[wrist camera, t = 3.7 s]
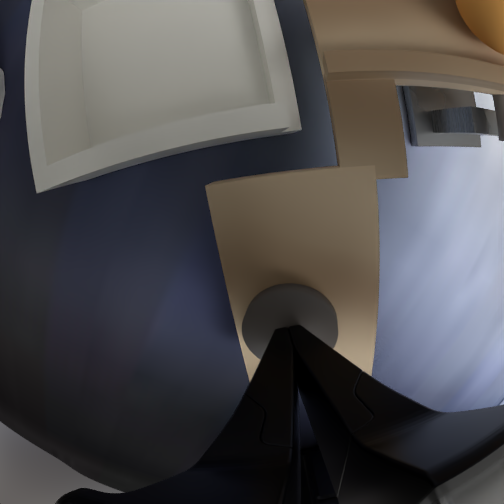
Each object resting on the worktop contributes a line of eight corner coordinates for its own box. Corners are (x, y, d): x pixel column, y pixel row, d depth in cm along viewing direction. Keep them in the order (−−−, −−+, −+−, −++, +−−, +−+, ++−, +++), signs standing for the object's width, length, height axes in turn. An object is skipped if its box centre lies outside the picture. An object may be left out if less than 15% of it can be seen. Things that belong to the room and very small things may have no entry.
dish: (292, 133, 10) (315, 124, 7) (86, 180, 10) (36, 193, 7) (252, -42, 7) (256, -88, 4) (73, 9, 7) (35, -16, 4)
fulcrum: (474, 146, 10) (519, 152, 7) (412, 146, 10) (458, 148, 7) (434, -9, 7) (467, -29, 4) (366, -27, 7) (393, -58, 4)
